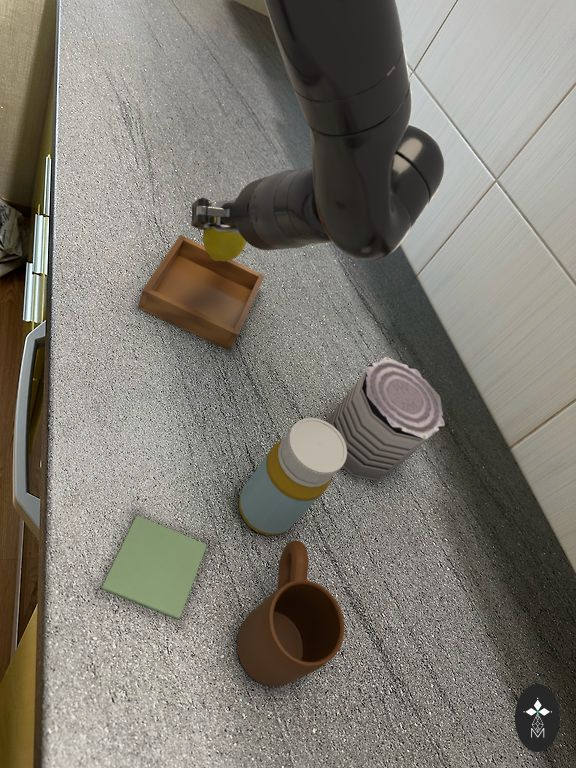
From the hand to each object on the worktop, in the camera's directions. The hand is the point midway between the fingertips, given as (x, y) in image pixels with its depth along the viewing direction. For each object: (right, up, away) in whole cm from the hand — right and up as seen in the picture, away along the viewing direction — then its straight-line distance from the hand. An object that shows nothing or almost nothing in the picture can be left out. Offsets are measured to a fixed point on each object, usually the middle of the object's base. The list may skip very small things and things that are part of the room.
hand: (223, 223), depth 74 cm
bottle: (+6, -35, -7) cm, 36 cm away
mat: (-5, -39, -16) cm, 42 cm away
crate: (-4, -9, +9) cm, 13 cm away
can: (+18, -29, +4) cm, 34 cm away
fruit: (-1, -4, +3) cm, 5 cm away
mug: (+6, -45, -15) cm, 48 cm away
